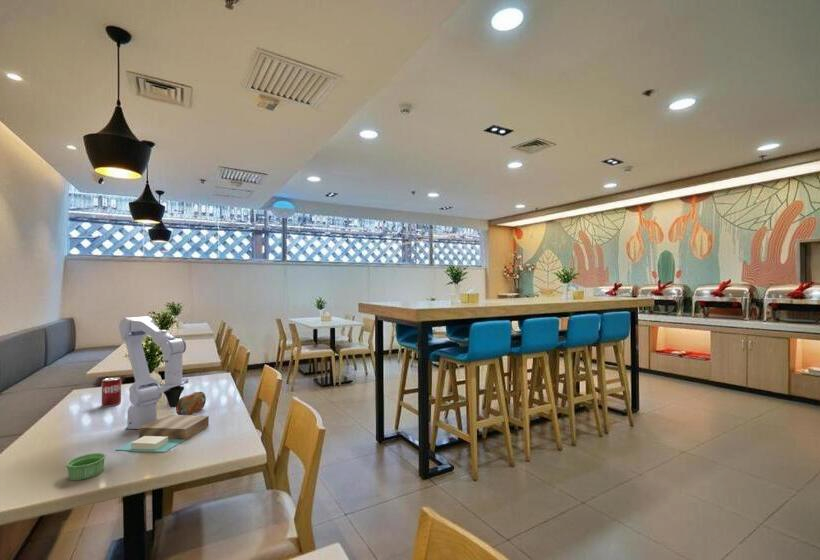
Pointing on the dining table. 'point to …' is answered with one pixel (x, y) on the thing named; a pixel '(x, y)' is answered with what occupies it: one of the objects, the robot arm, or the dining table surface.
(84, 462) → the ramekin
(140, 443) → the cream bevelled block
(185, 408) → the tin
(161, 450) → the mat
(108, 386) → the soda can
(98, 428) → the dining table surface
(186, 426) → the wooden block
